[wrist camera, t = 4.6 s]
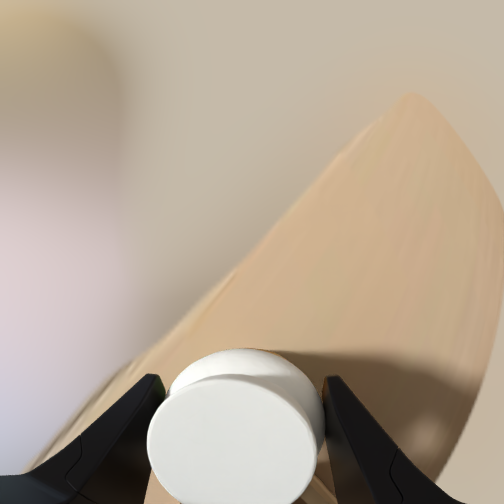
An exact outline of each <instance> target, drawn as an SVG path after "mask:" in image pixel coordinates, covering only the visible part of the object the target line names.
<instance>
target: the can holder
mask: <svg viewBox="0 0 504 504" xmlns="http://www.w3.org/2000/svg"><path fill="white" fill-rule="evenodd" d="M180 504H182V503H181V502H180ZM292 504H338V503H337V499H336V498H335V497H334V496H333V495H332V494H331V493H330V492H329V491H328V490H327V488H326V486H325V485H324V484H323V482H322V481H321V480H320V479H319V478H318V477H317V476H316V475H313V477H312V480H311V482H310V483H309V485H308V486H307V488H306V490H305V491H304V492H303V493H302V495H301V496H300V497H299V498H298V499H296V500H295V501H294V502H293V503H292Z"/></svg>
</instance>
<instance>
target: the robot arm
mask: <svg viewBox="0 0 504 504" xmlns="http://www.w3.org/2000/svg"><path fill="white" fill-rule="evenodd" d="M165 396H166V391H165V387H164V385H163V383H162V381H161V378H160V376H159V375H157V374H146V375H145V376H144V377H142V378H141V379H140V380H139V381H138V382H137V383H136V384H135V385H134V386H133V387H132V388H131V389H129V390H128V391H127V392H126V393H125V394H124V395H123V396H122V397H121V398H120V399H119V400H118V401H116V402H115V403H114V404H113V405H112V406H111V407H110V408H109V409H108V410H107V411H105V412H104V413H103V414H102V415H101V416H100V417H99V418H98V419H97V420H96V421H94V422H93V423H92V424H91V425H90V426H89V427H88V428H87V429H86V430H84V431H83V432H82V433H81V436H80V435H79V436H78V437H77V438H75V439H74V440H73V441H72V442H71V443H70V444H68V445H67V446H66V447H65V448H64V449H62V450H61V451H60V452H58V453H57V454H55V455H54V456H53V457H51V458H50V459H48V460H47V461H45V462H44V463H42V464H41V465H39V466H38V467H36V468H35V469H33V470H32V471H30V472H28V473H25V474H21V475H8V476H7V475H6V476H0V504H144V499H145V495H146V490H147V486H148V482H149V477H150V473H151V469H152V467H151V464H150V461H149V457H148V452H147V434H148V429H149V426H150V423H151V420H152V418H153V416H154V414H155V413H156V411H157V409H158V408H159V407H160V405H161V404H162V403H163V402H164V399H165ZM322 400H323V407H324V411H325V438H326V444H327V449H328V454H329V459H330V464H331V470H332V475H333V481H334V486H335V492H336V497H337V503H338V504H465V503H462V502H459V501H457V500H455V499H453V498H452V497H450V496H449V495H448V494H446V493H445V492H444V491H443V490H442V489H440V488H439V487H438V486H437V485H436V484H435V483H433V482H432V481H431V480H430V479H429V478H428V477H427V476H425V475H424V474H423V473H422V472H421V471H420V470H419V469H418V468H417V467H416V466H415V465H414V464H413V463H412V462H411V461H410V460H409V459H408V458H407V456H406V455H405V454H404V453H403V452H402V451H401V449H400V448H398V446H397V445H396V444H395V442H394V441H393V440H392V439H391V438H390V436H389V435H388V434H387V433H386V432H385V430H384V429H383V428H382V427H381V426H380V424H379V423H378V422H377V421H376V420H375V419H374V417H373V416H372V415H371V414H370V413H369V411H368V410H367V409H366V408H365V406H364V405H363V404H362V403H361V402H360V400H359V399H358V398H357V397H356V396H355V394H354V393H353V392H352V391H351V390H350V388H349V387H348V386H347V385H346V384H345V382H344V381H343V380H342V379H341V377H340V376H339V375H328V376H326V377H325V380H324V385H323V390H322Z"/></svg>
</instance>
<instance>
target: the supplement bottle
mask: <svg viewBox="0 0 504 504" xmlns="http://www.w3.org/2000/svg"><path fill="white" fill-rule="evenodd" d="M324 437H325V411H324V407H323V404H322V401H321V398H320V396H319V394H318V392H317V390H316V389H315V387H314V385H313V384H312V383H311V381H310V380H309V379H308V377H307V376H306V375H305V374H304V373H303V372H302V371H301V370H300V369H299V368H297V367H296V366H295V365H293V364H292V363H291V362H289V361H288V360H287V359H285V358H284V357H282V356H280V355H278V354H276V353H274V352H270V351H267V350H262V349H253V348H238V349H228V350H223V351H219V352H216V353H213V354H210V355H208V356H205V357H203V358H201V359H199V360H197V361H195V362H194V363H192V364H191V365H190V366H188V367H187V368H186V369H185V370H184V371H183V372H181V373H180V374H179V376H178V377H177V378H176V379H175V381H174V382H173V383H172V385H171V386H170V388H169V390H168V392H167V394H166V396H165V399H164V402H163V403H162V404H161V405H160V407H159V408H158V409H157V411H156V413H155V414H154V416H153V418H152V420H151V423H150V426H149V429H148V434H147V452H148V457H149V461H150V464H151V467H152V469H153V471H154V473H155V475H156V477H157V478H158V480H159V481H160V483H161V484H162V486H163V487H164V488H165V489H166V490H167V491H168V492H169V493H170V494H171V495H172V496H173V497H174V498H175V499H177V500H178V501H179V502H181V503H182V504H292V503H293V502H294V501H295V500H296V499H298V498H299V497H300V496H301V495H302V493H303V492H304V491H305V490H306V488H307V486H308V485H309V483H310V482H311V480H312V477H313V475H314V472H315V468H316V464H317V456H318V454H319V452H320V450H321V447H322V444H323V441H324Z"/></svg>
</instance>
